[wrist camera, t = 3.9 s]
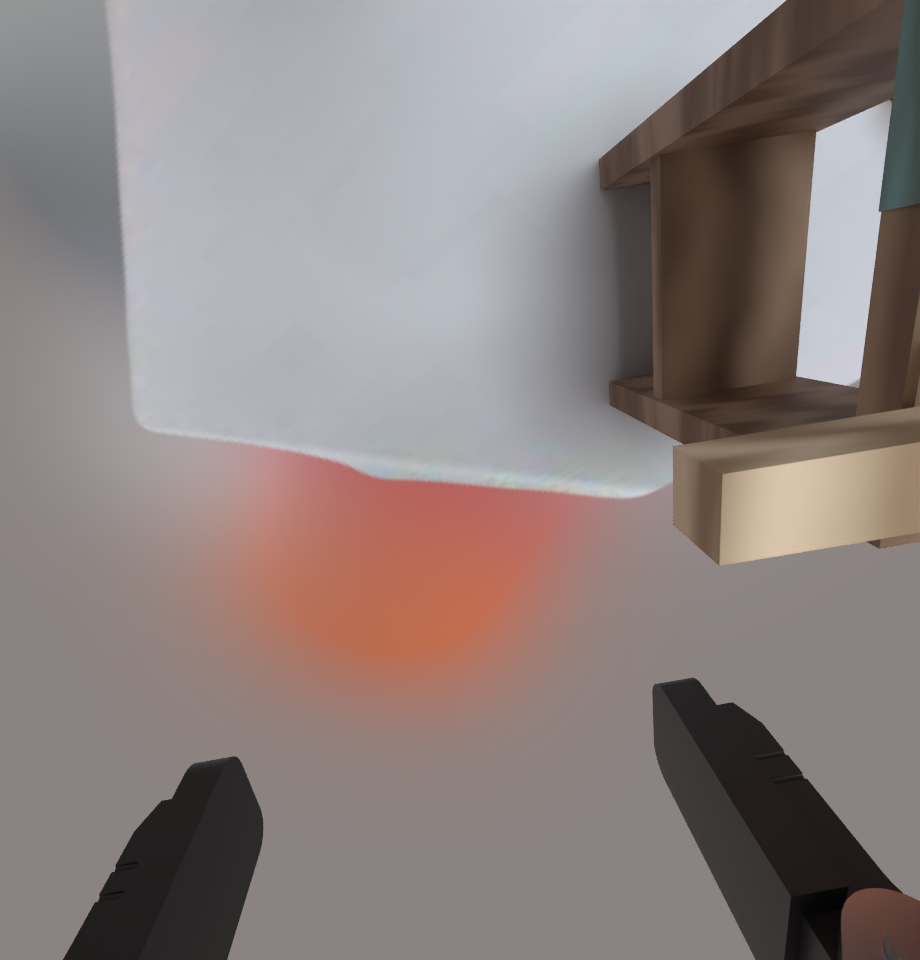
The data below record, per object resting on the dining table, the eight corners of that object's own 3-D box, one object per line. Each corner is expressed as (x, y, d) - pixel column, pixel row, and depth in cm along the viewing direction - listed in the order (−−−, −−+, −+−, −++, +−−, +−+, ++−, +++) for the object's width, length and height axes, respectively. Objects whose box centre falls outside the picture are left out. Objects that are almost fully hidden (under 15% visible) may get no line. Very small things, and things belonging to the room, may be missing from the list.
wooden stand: (608, 405, 51) (932, 580, 18) (597, 159, 43) (1107, -279, 11) (724, 386, 51) (1250, 527, 18) (733, 138, 44) (1637, -356, 11)
